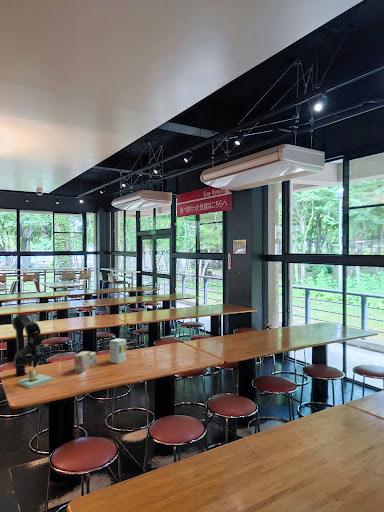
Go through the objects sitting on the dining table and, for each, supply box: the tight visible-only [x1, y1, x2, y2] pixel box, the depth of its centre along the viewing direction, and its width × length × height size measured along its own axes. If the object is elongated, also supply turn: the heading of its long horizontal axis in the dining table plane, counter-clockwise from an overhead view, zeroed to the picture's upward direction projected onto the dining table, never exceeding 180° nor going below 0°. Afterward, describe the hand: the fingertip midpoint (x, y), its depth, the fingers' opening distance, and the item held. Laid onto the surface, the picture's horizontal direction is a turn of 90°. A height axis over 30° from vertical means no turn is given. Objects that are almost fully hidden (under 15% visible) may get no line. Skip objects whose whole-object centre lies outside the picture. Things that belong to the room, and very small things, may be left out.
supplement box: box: [109, 337, 127, 364], centre depth 271 cm, size 10×9×17 cm
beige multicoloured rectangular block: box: [74, 350, 97, 374], centre depth 255 cm, size 21×6×12 cm, turn 169°
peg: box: [28, 369, 37, 382], centre depth 225 cm, size 4×4×8 cm
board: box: [17, 373, 53, 389], centre depth 227 cm, size 14×16×2 cm
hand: (32, 366), depth 225 cm, fingers open, 5 cm apart
